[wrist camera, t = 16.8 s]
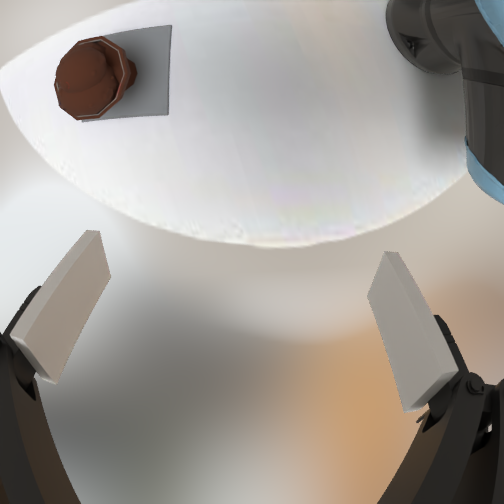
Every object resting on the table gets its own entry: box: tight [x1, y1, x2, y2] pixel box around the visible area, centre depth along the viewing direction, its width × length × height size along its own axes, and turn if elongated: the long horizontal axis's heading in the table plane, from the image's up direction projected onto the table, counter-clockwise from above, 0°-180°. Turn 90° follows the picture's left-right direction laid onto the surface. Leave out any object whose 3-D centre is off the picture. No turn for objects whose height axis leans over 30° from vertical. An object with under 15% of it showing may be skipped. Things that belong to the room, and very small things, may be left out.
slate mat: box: [82, 25, 172, 122], centre depth 33 cm, size 15×14×1 cm
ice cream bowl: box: [54, 36, 138, 120], centre depth 27 cm, size 11×11×15 cm
